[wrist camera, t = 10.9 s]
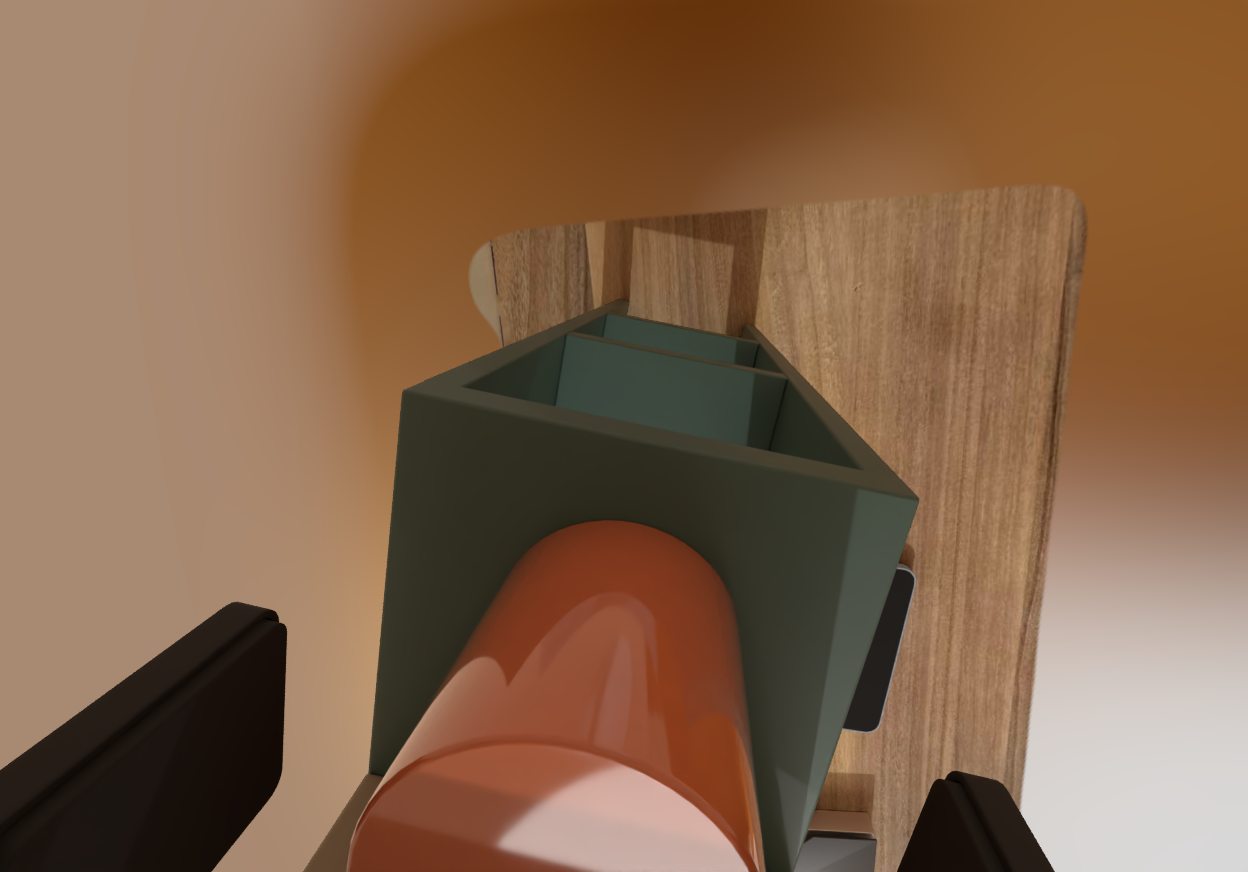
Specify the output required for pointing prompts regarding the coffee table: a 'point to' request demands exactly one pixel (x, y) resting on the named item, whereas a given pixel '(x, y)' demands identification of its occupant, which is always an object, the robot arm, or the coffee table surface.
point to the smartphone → (882, 656)
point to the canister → (582, 725)
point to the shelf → (653, 496)
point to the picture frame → (838, 843)
